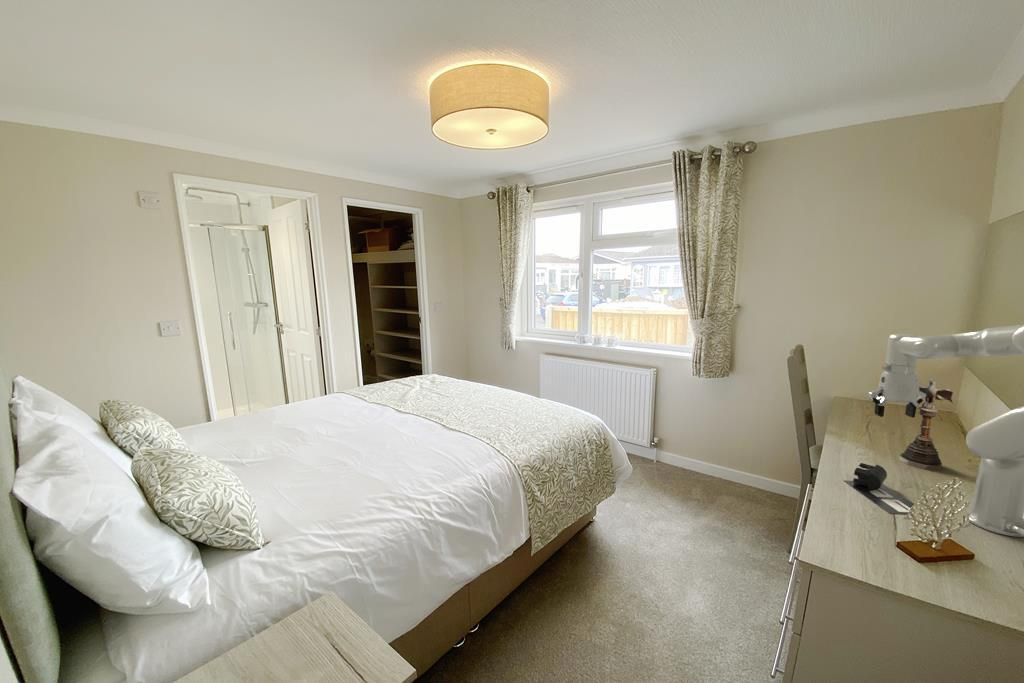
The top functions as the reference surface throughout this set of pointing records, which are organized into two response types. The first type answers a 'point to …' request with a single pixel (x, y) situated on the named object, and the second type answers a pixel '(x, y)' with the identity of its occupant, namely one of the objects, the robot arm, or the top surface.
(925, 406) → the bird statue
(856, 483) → the end cap
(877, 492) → the far label
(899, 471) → the top surface
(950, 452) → the top surface
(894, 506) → the near label
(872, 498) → the label panel
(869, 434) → the top surface
